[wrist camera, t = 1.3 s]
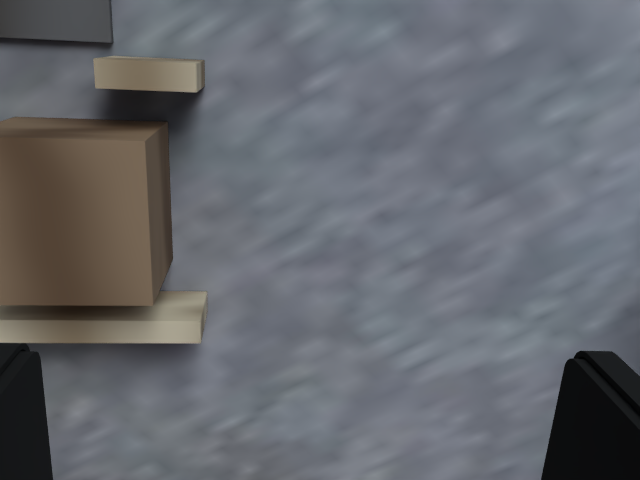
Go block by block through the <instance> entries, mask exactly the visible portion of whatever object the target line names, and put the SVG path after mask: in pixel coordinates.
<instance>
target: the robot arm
mask: <svg viewBox="0 0 640 480" xmlns="http://www.w3.org/2000/svg"><path fill="white" fill-rule="evenodd" d="M0 480H53V475H52V465H51V456H50V446H49V436H48V427H47V417H46V407H45V397H44V388H43V378H42V368H41V360H40V356H39V353H38V352H30V349H29V347H28V345H27V344H26V343H0ZM541 480H640V376H639V375H638V374H637V373H635V372H634V371H633V370H632V369H631V368H630V367H629V366H628V365H627V364H626V363H625V362H624V361H623V360H621V359H620V358H619V357H618V356H617V355H616V354H615V353H613V352H609V351H579V352H578V353H576V355H575V356H574V359H569V360H568V361H567V362H566V364H565V367H564V372H563V377H562V381H561V386H560V391H559V396H558V401H557V405H556V410H555V415H554V420H553V425H552V429H551V434H550V439H549V444H548V449H547V453H546V458H545V463H544V468H543V473H542V478H541Z"/></svg>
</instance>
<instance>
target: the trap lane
mask: <svg viewBox="0 0 640 480" xmlns="http://www.w3.org/2000/svg"><path fill="white" fill-rule="evenodd" d="M0 37H4V38H25V39H46V40H66V41H87V42H108V43H113V28H112V11H111V0H0ZM94 73H95V88H100V89H124V90H148V91H173V92H198V91H199V90H200V89H202V88H203V87H204V86H205V65H204V60H190V59H168V58H147V57H125V56H110V57H102V58H94ZM206 316H207V292H203V291H159V293H158V296H157V298H156V300H155V303H154V305H153V306H78V305H0V343H201V340H202V335H203V330H204V326H205V321H206Z"/></svg>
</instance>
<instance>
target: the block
mask: <svg viewBox="0 0 640 480" xmlns="http://www.w3.org/2000/svg"><path fill="white" fill-rule="evenodd" d="M172 260H173V248H172V221H171V194H170V167H169V140H168V122H167V121H134V120H101V119H68V118H36V117H13V118H10V119H7V120H4V121H1V122H0V305H78V306H153V305H154V303H155V300H156V298H157V296H158V293H159V291H160V288H161V286H162V284H163V281H164V279H165V277H166V274H167V272H168V269H169V267H170V265H171V262H172Z"/></svg>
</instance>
